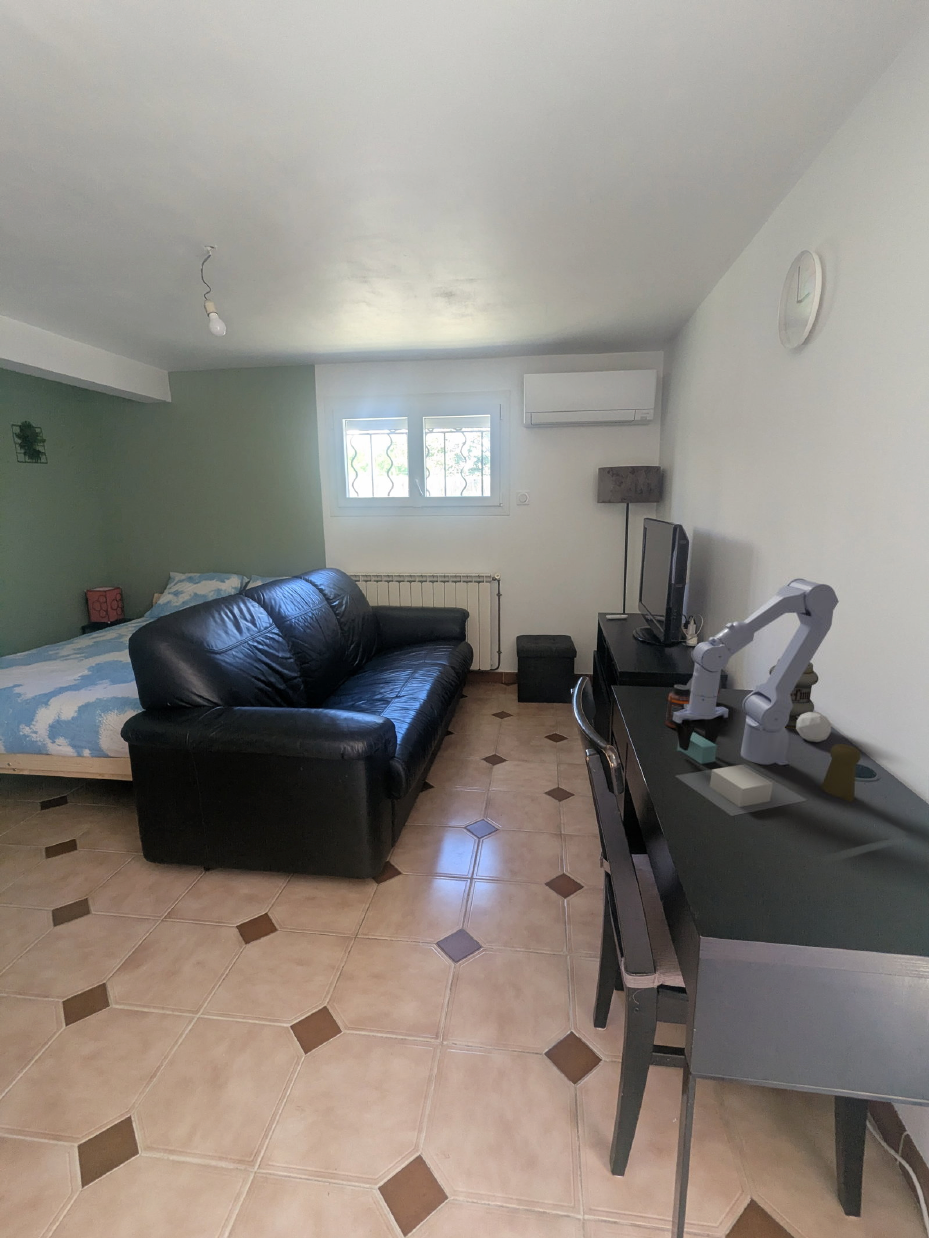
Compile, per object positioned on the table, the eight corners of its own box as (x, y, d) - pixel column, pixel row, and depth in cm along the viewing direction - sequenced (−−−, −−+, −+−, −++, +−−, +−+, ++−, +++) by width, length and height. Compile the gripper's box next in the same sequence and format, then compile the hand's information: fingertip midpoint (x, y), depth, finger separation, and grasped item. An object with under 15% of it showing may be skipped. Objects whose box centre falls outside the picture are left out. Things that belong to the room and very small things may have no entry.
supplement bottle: (690, 731, 144) (695, 691, 142) (667, 728, 146) (672, 689, 143) (686, 722, 150) (691, 684, 148) (663, 720, 151) (668, 682, 149)
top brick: (689, 750, 134) (692, 731, 133) (714, 765, 126) (716, 745, 125) (676, 752, 132) (679, 733, 131) (700, 767, 125) (703, 747, 124)
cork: (848, 790, 117) (858, 743, 114) (858, 804, 111) (869, 755, 109) (816, 784, 119) (825, 738, 116) (824, 798, 113) (834, 750, 111)
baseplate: (744, 767, 125) (744, 764, 125) (806, 803, 111) (807, 800, 111) (674, 779, 119) (674, 775, 119) (731, 819, 104) (731, 815, 104)
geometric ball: (816, 749, 142) (842, 730, 139) (806, 746, 137) (833, 726, 134) (794, 726, 147) (819, 707, 144) (784, 722, 142) (810, 703, 139)
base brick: (738, 781, 117) (741, 764, 116) (769, 800, 110) (773, 783, 109) (709, 786, 114) (712, 769, 114) (739, 807, 107) (742, 788, 106)
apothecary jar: (752, 715, 157) (761, 656, 153) (783, 712, 160) (794, 654, 157) (787, 732, 146) (798, 669, 142) (820, 728, 149) (832, 666, 145)
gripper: (715, 685, 132) (707, 736, 135) (667, 689, 127) (660, 743, 130) (738, 695, 125) (729, 749, 128) (688, 700, 120) (680, 756, 123)
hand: (696, 746), depth 129 cm, fingers open, 7 cm apart
